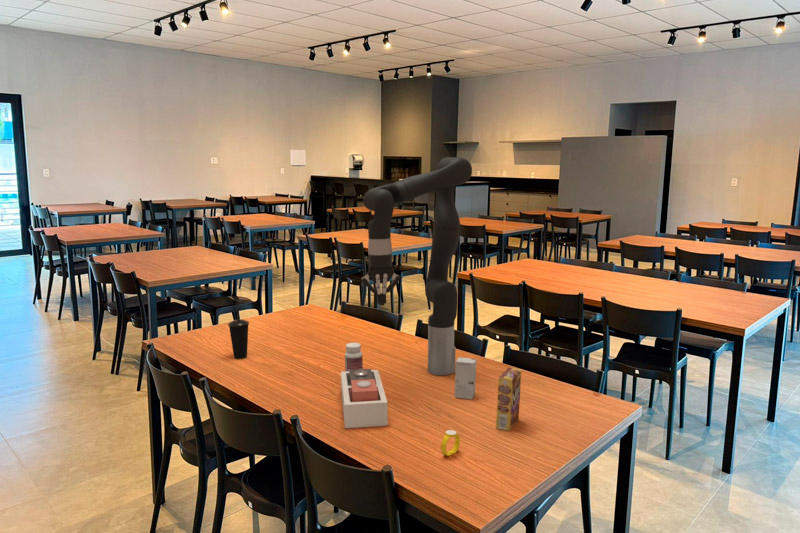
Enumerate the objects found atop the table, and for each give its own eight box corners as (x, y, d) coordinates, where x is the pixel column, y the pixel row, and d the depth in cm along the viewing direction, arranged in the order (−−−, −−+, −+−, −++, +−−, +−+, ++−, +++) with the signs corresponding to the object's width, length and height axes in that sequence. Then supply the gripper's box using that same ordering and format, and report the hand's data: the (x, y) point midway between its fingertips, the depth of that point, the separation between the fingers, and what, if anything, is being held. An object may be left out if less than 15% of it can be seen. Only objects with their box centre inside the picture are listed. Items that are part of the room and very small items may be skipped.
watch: (453, 449, 147) (454, 427, 147) (461, 452, 145) (463, 430, 145) (438, 455, 143) (439, 433, 142) (446, 459, 141) (448, 437, 140)
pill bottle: (366, 376, 197) (365, 345, 195) (350, 380, 194) (349, 348, 192) (357, 371, 202) (356, 341, 200) (342, 374, 199) (341, 344, 197)
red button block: (374, 401, 170) (374, 377, 169) (377, 413, 161) (377, 388, 160) (351, 402, 169) (351, 378, 168) (353, 415, 161) (352, 390, 159)
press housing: (378, 390, 185) (377, 369, 184) (387, 425, 160) (387, 402, 159) (341, 392, 184) (340, 371, 182) (345, 428, 158) (344, 404, 157)
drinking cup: (225, 359, 215) (222, 308, 212) (238, 353, 222) (235, 303, 219) (242, 361, 213) (239, 310, 209) (254, 355, 220) (252, 305, 216)
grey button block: (371, 389, 182) (370, 366, 181) (373, 400, 174) (373, 377, 172) (349, 390, 181) (348, 367, 180) (350, 401, 173) (350, 378, 171)
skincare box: (454, 397, 179) (454, 361, 177) (457, 392, 183) (457, 356, 181) (473, 400, 177) (474, 363, 175) (476, 394, 181) (476, 358, 179)
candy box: (510, 432, 156) (512, 379, 153) (495, 428, 158) (497, 376, 155) (520, 419, 164) (521, 369, 161) (505, 416, 166) (507, 366, 163)
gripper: (398, 249, 185) (400, 301, 188) (358, 251, 183) (360, 303, 186) (402, 253, 177) (403, 306, 180) (360, 255, 175) (362, 309, 178)
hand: (381, 304), depth 183 cm, fingers closed
